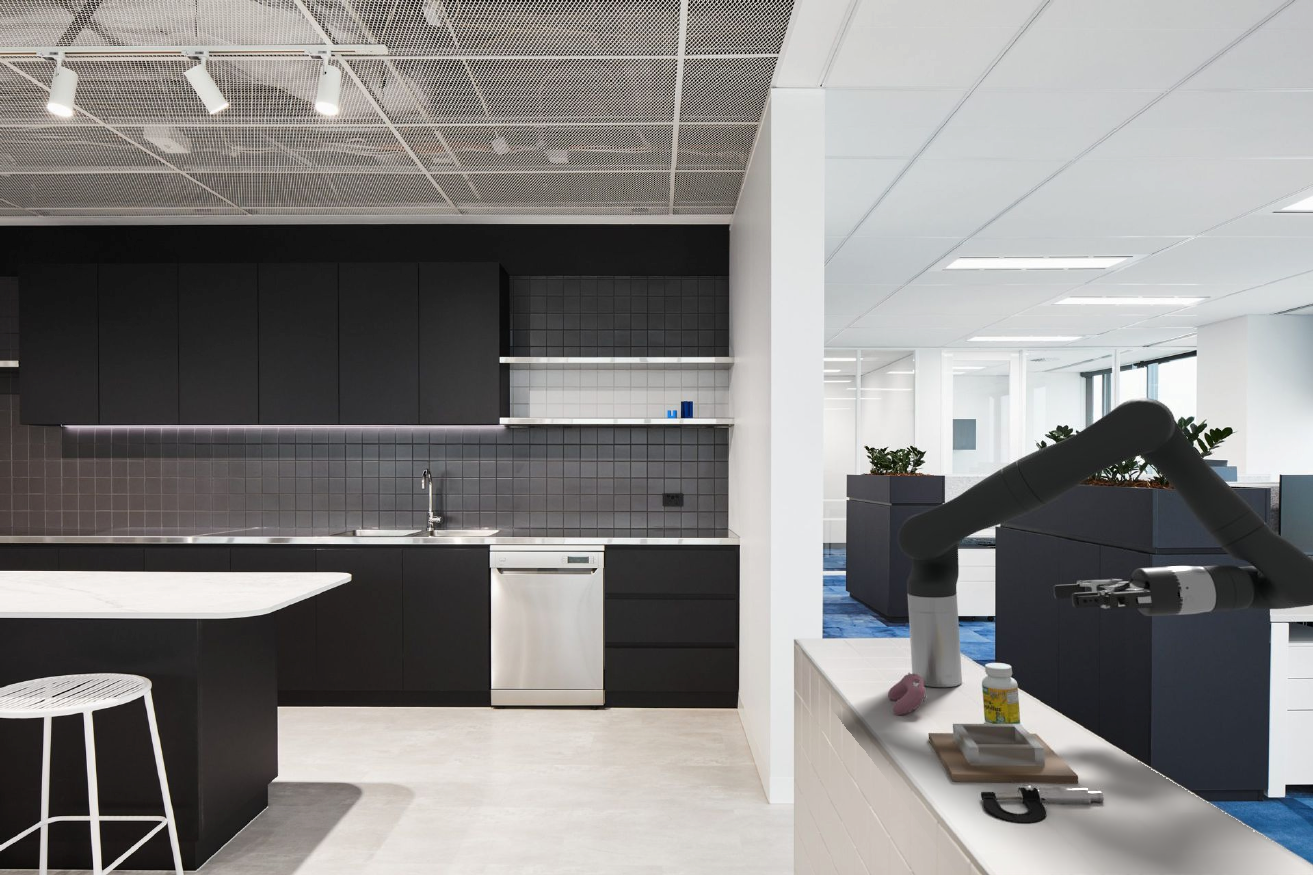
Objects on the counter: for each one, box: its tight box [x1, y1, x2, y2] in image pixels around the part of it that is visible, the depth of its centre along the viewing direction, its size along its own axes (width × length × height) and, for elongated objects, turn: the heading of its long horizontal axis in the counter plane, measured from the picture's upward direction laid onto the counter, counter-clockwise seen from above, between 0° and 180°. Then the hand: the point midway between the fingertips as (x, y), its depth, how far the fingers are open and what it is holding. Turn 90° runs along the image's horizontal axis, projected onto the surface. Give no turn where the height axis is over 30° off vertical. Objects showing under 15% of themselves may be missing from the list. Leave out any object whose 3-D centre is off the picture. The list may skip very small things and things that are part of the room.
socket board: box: [927, 723, 1079, 784], centre depth 110 cm, size 16×16×4 cm
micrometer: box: [980, 783, 1105, 825], centre depth 94 cm, size 15×7×2 cm, turn 84°
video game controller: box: [887, 672, 928, 716], centre depth 135 cm, size 10×5×7 cm, turn 169°
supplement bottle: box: [981, 662, 1021, 724], centre depth 124 cm, size 5×5×10 cm
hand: (1063, 596), depth 123 cm, fingers open, 8 cm apart
